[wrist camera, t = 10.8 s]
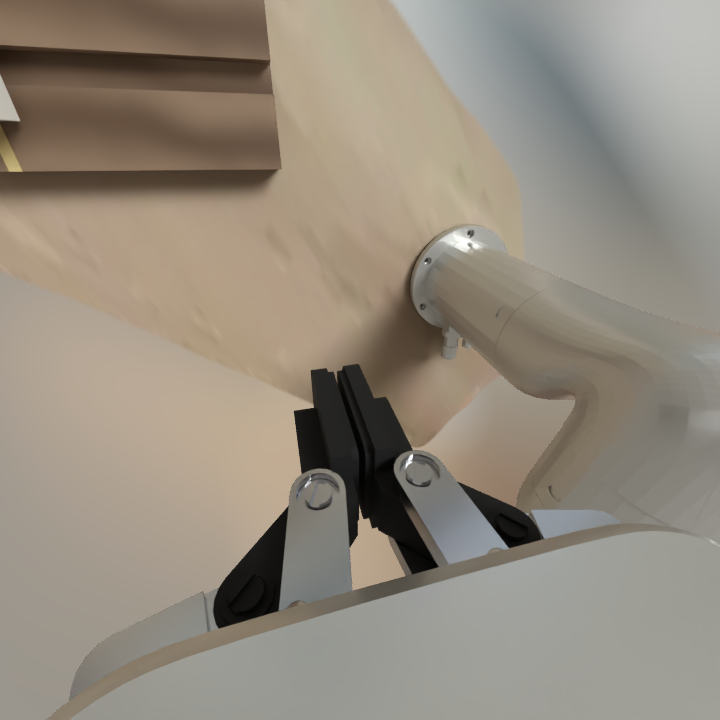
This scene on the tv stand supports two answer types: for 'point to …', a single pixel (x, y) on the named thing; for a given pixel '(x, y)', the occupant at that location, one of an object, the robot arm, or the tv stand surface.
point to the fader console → (137, 85)
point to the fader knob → (6, 105)
